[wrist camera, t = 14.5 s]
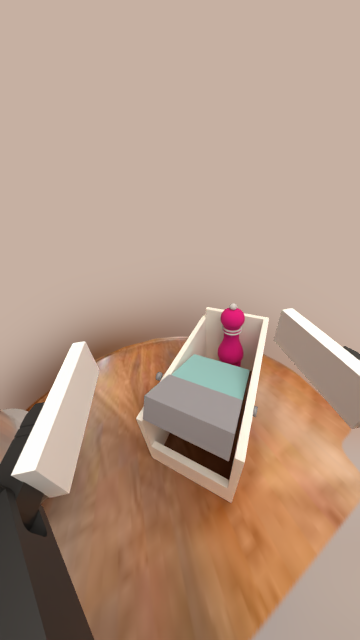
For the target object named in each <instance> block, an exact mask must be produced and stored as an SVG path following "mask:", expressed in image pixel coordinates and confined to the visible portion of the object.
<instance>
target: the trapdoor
mask: <svg viewBox="0 0 360 640" xmlns="http://www.w3.org/2000/svg"><path fill="white" fill-rule="evenodd" d="M249 371H250V370H248V369H245V368H241V367H238V366H234V365H231V364H227V363H224V362H220V361H217V360H213V359H210V358H206V357H203V356H199V355H196V354H194V355H193V356H191V357H190V358H189V359H188V360H187V361H186V362H185V363H184V364H183V365H182V366H180V367H179V368H178V369H177V370H176V371H175V372H174V373H173V374H172V375H170V374H168V375H167V376H166V377H165V378H164V379H163V380H162V381H161V382H159V383H158V384H157V385H156V386H155V387H154V388H153V389H152V390H150V391H149V392H148V393H147V394H146V395H145V396H144V409H143V420H145V421H147V422H149V423H151V424H153V425H155V426H157V427H159V428H162V429H164V430H166V431H168V432H170V433H172V434H174V435H176V436H178V437H180V438H182V439H184V440H186V441H188V442H190V443H192V444H194V445H196V446H198V447H200V448H202V449H204V450H206V451H208V452H210V453H212V454H214V455H216V456H218V457H220V458H223V459H225V460H227V461H229V459H230V455H231V450H232V446H233V442H234V437H235V433H236V429H237V424H238V420H239V415H240V410H241V406H242V402H243V397H244V393H245V389H246V384H247V380H248V376H249Z"/></svg>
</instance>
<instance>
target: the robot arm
mask: <svg viewBox="0 0 360 640" xmlns="http://www.w3.org/2000/svg"><path fill="white" fill-rule="evenodd" d="M274 341H275V342H276V343H277V344H278V345H279V347H280V348H281V349H282V350H283V351H284V353H285V354H286V355H287V356H288V357H289V358H290V359H291V361H293V363H294V364H295V365H296V366H297V367H298V369H299V370H300V371H301V372H302V373H303V374H304V375H305V376H306V378H307V379H308V380H309V381H310V382H311V383H312V384H313V386H314V387H315V388H316V389H317V390H318V391H319V392H320V394H321V395H322V396H323V397H324V398H325V399H326V400H327V401H328V403H329V404H330V405H331V406H332V407H333V408H334V409H335V411H336V412H337V413H338V414H339V415H340V416H341V417H342V418H343V420H344V421H345V422H346V423H347V424H348V425H349V426H350V428H351V429H354V428H359V427H360V354H359V353H358V352H356V351H354V350H352V349H350V348H348V347H346V346H344V347H342V346H340V345H339V344H338V343H336V342H335V341H334V340H333V339H331V338H330V337H329V336H327V335H326V334H325V333H324V332H322V331H321V330H320V329H318V328H317V327H316V326H315V325H313V324H312V323H311V322H309V321H308V320H307V319H305V318H304V317H303V316H302V315H300V314H299V313H298V312H297V311H295V310H294V309H293V308H290V309H285V310H282V312H281V316H280V319H279V322H278V326H277V329H276V333H275V337H274ZM99 371H100V370H99V368H98V366H97V364H96V362H95V360H94V358H93V356H92V354H91V352H90V350H89V348H88V346H87V344H86V342H85V341H84V342H78V343H73V344H72V346H71V348H70V350H69V352H68V354H67V356H66V358H65V361H64V363H63V365H62V367H61V369H60V371H59V373H58V376H57V378H56V380H55V382H54V384H53V386H52V388H51V391H50V393H49V395H48V397H47V399H46V401H45V402H43V403H37V404H35V405H34V406H33V407H32V409H31V410H30V411H29V412H27V411H25V410H22V409H4V410H0V640H94V638H93V635H92V633H91V630H90V628H89V625H88V622H87V620H86V617H85V615H84V612H83V610H82V607H81V604H80V602H79V599H78V597H77V594H76V591H75V589H74V586H73V584H72V581H71V578H70V576H69V573H68V571H67V568H66V566H65V563H64V560H63V558H62V555H61V553H60V550H59V547H58V545H57V542H56V540H55V537H54V534H53V532H52V529H51V527H50V524H49V522H48V519H47V516H46V514H45V511H44V509H43V507H42V505H41V504H42V503H43V502H44V501H45V500H46V499H47V498H48V497H50V498H52V497H56V496H61V495H65V494H69V493H70V489H71V485H72V481H73V477H74V473H75V469H76V465H77V461H78V456H79V452H80V448H81V444H82V440H83V436H84V432H85V428H86V424H87V420H88V416H89V411H90V407H91V403H92V399H93V395H94V391H95V387H96V383H97V379H98V375H99Z"/></svg>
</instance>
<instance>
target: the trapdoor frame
mask: <svg viewBox="0 0 360 640" xmlns="http://www.w3.org/2000/svg"><path fill="white" fill-rule="evenodd" d="M223 311H224V310H221V309H215V308H210V307H207V309H206V315H203V316H202V318H201V320H200V321H199V323H198V324H197V326H196V327H195V329H194V330H193V332H192V333H191V335H190V336H189V338H188V339H187V341H186V343H185V344H184V346H183V347H182V349H181V350H180V352H179V353H178V355H177V356H176V358H175V359H174V361H173V362H172V364H171V366H170V367H169V369H168V370H167V372H166V373H165V375H164V376H163V378H162V375H163V374H162V373H161V372H158V373H157V375H156V380H158V381H160V380H161V381H162V380H163V379H164V378H165V377H166V376H167V375H168V374H170V375H172V374H173V373H174V372H175V371H176V370H177V369H178V368H179V367H180V366H182V365H183V364H184V363H185V362H186V361H187V360H188V359H189V358H190V357H191V356H193V355H194V354H196V355H199V356H203V357H206V358H210V359H213V360H217V361H219V357H218V353H217V352H218V347H219V345H220V344H221V342H222V341H223V338H224V332H223V331H222V325H223V324H222V323H221V319H220V318H221V314H222V312H223ZM244 316H245V321H244V324H243V325H242V332H241V333H240V334H239V340H240V343H241V345H242V347H243V351H244V356H243V359H242V360H241V366H240V367H241V368H245V369H248V370H250V371H252V374H251V379H250V383H249V388H248V393H247V398H246V402H245V407H244V412H243V417H242V421H241V426H240V431H239V436H238V440H237V445H236V450H235V455H234V459H233V464H232V469H231V474H230V478H229V480H228V479H226V478H224V477H222V476H221V475H219V474H217V473H215V472H213V471H211V470H209V469H207V468H206V467H204V466H202V465H200V464H198V463H196V462H194V461H192V460H190V459H189V458H187V457H185V456H183V455H181V454H179V453H177V452H175V451H173V450H172V449H170V448H168V447H166V446H164V444H165V442H166V440H167V438H168V436H169V434H170V432H168V431H166V430H164V429H162V428H159V427H157V426H155V425H153V424H151V423H149V422H147V421H145V420H143V409H144V407H143V409H142V410H141V412H140V413H139V415H138V416H137V418H136V420H137V422H138V424H139V427H140V429H141V432H142V434H143V437H144V439H145V441H146V444H147V446H148V449H149V451H150V454H151V456H152V458H154V459H156V460H157V461H159V462H161V463H163V464H164V465H166V466H168V467H169V468H171V469H173V470H175V471H176V472H178V473H180V474H182V475H183V476H185V477H187V478H189V479H190V480H192V481H194V482H195V483H197V484H199V485H201V486H202V487H204V488H206V489H208V490H209V491H211V492H213V493H215V494H216V495H218V496H220V497H222V498H223V499H225V500H227V501H228V502H230V503H232V500H233V497H234V494H235V491H236V488H237V484H238V481H239V478H240V475H241V472H242V469H243V466H244V463H245V457H246V451H247V445H248V439H249V433H250V427H251V421H252V416H254V417H256V414H257V408H258V407H257V406H254V404H255V398H256V392H257V386H258V380H259V374H260V368H261V362H262V356H263V350H264V344H265V339H266V332H267V327H268V320H269V318H267V317H262V316H256V315H250V314H244ZM161 378H162V379H161ZM161 381H160V382H161Z"/></svg>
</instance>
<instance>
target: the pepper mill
mask: <svg viewBox="0 0 360 640" xmlns="http://www.w3.org/2000/svg"><path fill="white" fill-rule="evenodd" d="M220 319H221V323H222V324H223V325H222V331H223V332H224V338H223V341H222V342H221V344H220V345H219V347H218V352H217V353H218V357H219V361H220V362H224V363H227V364H231V365H234V366H238V367H240V366H241V360H242V359H243V356H244V351H243V347H242V345H241V343H240V340H239V334H240V333H241V332H242V325H243V324H244V321H245V316H244V313H243V312H242V311H241V310H240V309H238V308H237V305H236V304H234V303H232V304H231V305H230V308H227V309H225V310H224V311H223V312H222V314H221V318H220Z"/></svg>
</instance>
